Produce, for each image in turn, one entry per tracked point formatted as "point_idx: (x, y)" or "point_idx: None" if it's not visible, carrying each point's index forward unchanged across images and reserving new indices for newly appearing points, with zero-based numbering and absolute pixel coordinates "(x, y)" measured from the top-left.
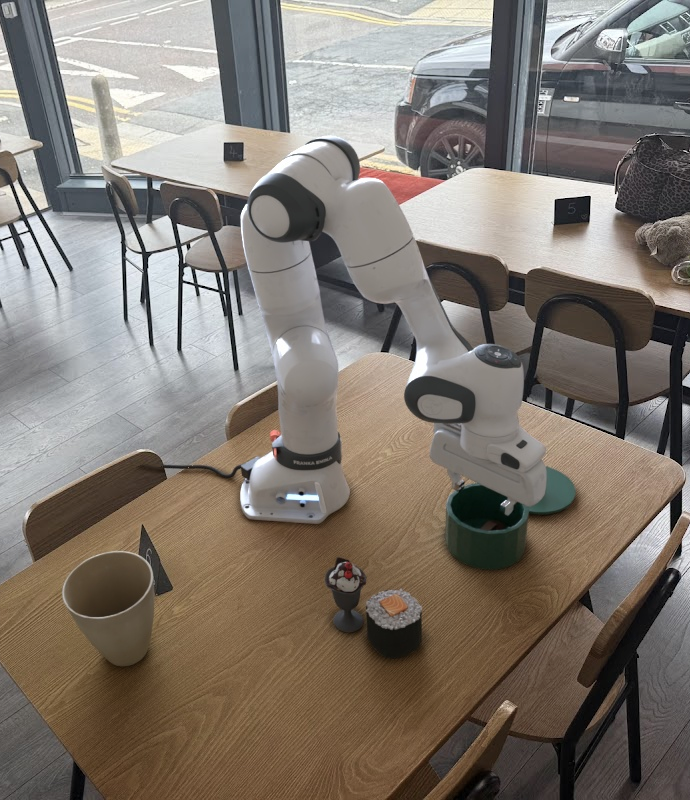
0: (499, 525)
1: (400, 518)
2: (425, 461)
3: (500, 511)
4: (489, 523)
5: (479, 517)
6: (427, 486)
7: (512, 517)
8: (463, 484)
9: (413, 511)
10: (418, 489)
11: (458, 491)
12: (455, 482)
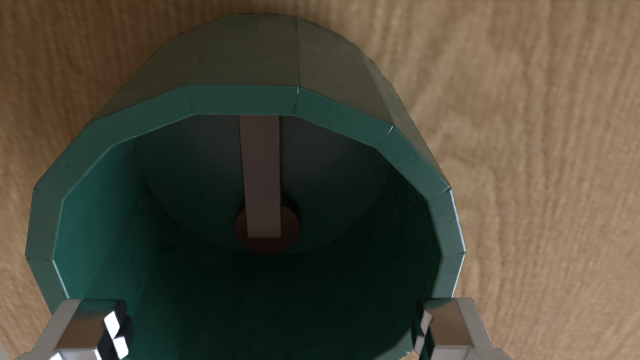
0: (262, 241)
1: (596, 79)
2: (592, 322)
3: (112, 302)
4: (269, 225)
5: (342, 236)
6: (553, 255)
7: (231, 288)
8: (419, 357)
9: (559, 140)
10: (576, 231)
11: (424, 299)
12: (471, 354)
